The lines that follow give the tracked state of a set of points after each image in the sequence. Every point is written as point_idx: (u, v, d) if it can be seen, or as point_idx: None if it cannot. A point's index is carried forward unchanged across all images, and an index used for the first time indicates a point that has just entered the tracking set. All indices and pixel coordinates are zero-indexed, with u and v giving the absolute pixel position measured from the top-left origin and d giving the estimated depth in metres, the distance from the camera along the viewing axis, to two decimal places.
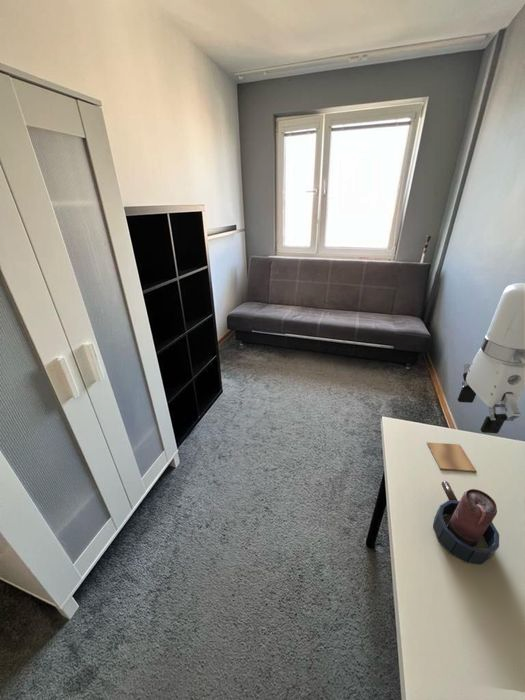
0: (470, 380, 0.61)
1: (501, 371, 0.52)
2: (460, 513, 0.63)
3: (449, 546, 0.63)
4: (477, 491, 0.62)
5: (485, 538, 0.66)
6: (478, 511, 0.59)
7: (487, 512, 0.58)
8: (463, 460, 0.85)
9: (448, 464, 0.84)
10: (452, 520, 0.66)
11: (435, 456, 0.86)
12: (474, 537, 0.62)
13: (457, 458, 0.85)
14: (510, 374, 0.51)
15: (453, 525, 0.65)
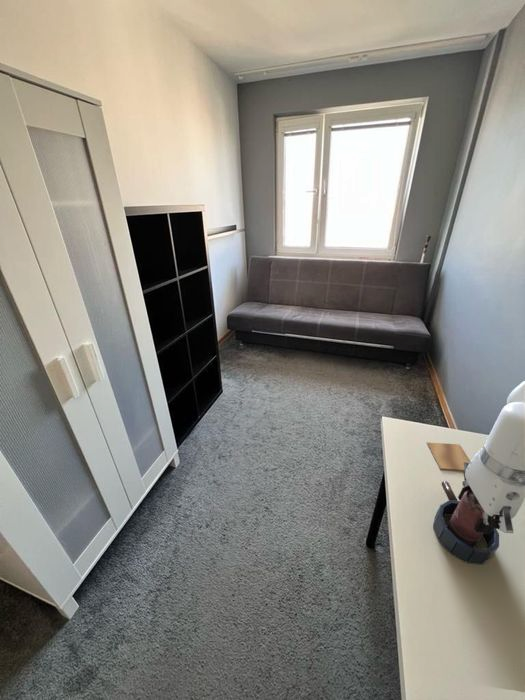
0: (469, 479, 0.61)
1: (500, 486, 0.52)
2: (460, 513, 0.63)
3: (449, 546, 0.63)
4: None
5: (485, 538, 0.66)
6: (478, 511, 0.59)
7: None
8: (463, 460, 0.85)
9: (448, 464, 0.84)
10: (452, 520, 0.66)
11: (435, 456, 0.86)
12: (473, 537, 0.62)
13: (457, 458, 0.85)
14: (508, 491, 0.51)
15: (453, 525, 0.65)
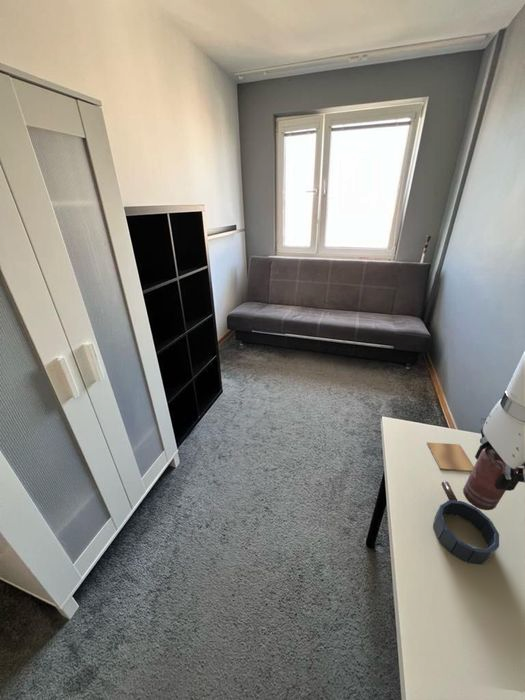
0: (487, 433, 0.57)
1: (524, 433, 0.48)
2: (478, 472, 0.58)
3: (449, 546, 0.63)
4: None
5: (485, 538, 0.66)
6: (499, 467, 0.54)
7: None
8: (463, 460, 0.85)
9: (448, 464, 0.84)
10: (469, 481, 0.61)
11: (435, 456, 0.86)
12: (493, 497, 0.58)
13: (457, 458, 0.85)
14: None
15: (470, 486, 0.61)
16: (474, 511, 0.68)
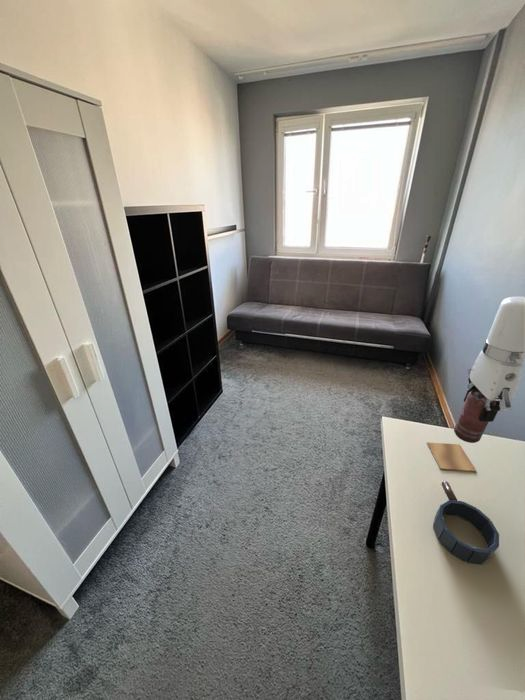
0: (473, 378, 0.71)
1: (499, 370, 0.62)
2: (465, 410, 0.73)
3: (449, 546, 0.63)
4: None
5: (485, 538, 0.66)
6: (481, 402, 0.69)
7: None
8: (463, 460, 0.85)
9: (448, 464, 0.84)
10: (458, 420, 0.75)
11: (435, 456, 0.86)
12: (477, 429, 0.72)
13: (457, 458, 0.85)
14: (507, 372, 0.61)
15: (459, 423, 0.75)
16: (474, 511, 0.68)
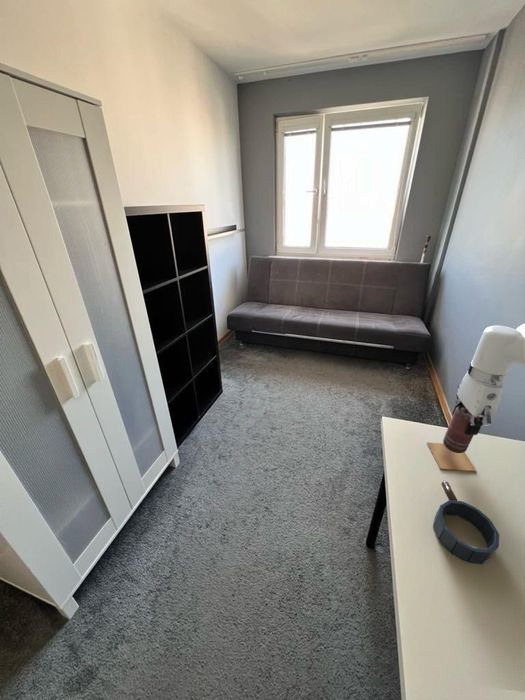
0: (460, 395, 0.78)
1: (482, 390, 0.70)
2: (453, 424, 0.80)
3: (449, 546, 0.63)
4: None
5: (485, 538, 0.66)
6: (467, 417, 0.76)
7: None
8: (463, 460, 0.85)
9: (448, 464, 0.84)
10: (447, 432, 0.83)
11: (435, 456, 0.86)
12: (464, 441, 0.79)
13: (457, 458, 0.85)
14: (488, 392, 0.69)
15: (448, 435, 0.82)
16: (474, 511, 0.68)
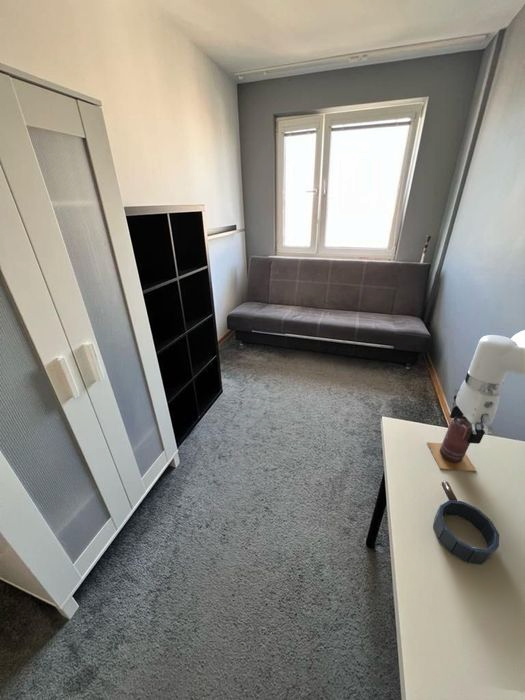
0: (458, 402, 0.80)
1: (479, 398, 0.71)
2: (449, 434, 0.82)
3: (449, 546, 0.63)
4: (462, 417, 0.82)
5: (485, 538, 0.66)
6: (462, 428, 0.78)
7: (469, 429, 0.78)
8: (463, 460, 0.85)
9: (448, 464, 0.84)
10: (443, 442, 0.85)
11: (435, 456, 0.86)
12: (459, 451, 0.81)
13: None
14: (485, 401, 0.70)
15: (444, 445, 0.85)
16: (474, 511, 0.68)
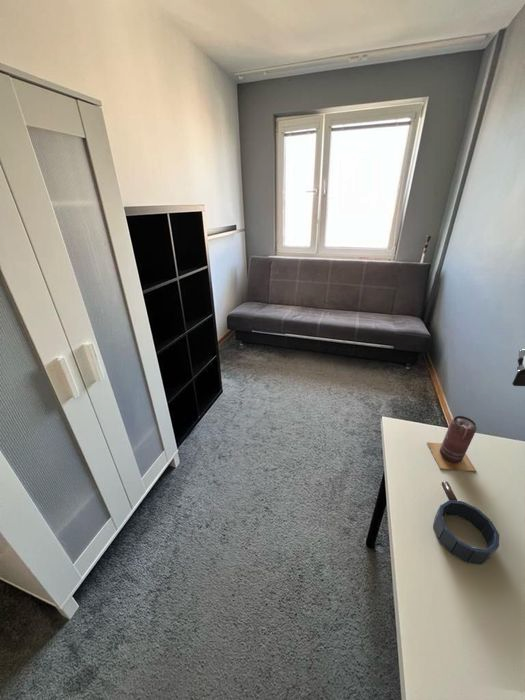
0: None
1: None
2: (449, 434, 0.82)
3: (449, 546, 0.63)
4: (462, 417, 0.82)
5: (485, 538, 0.66)
6: (462, 428, 0.78)
7: (469, 429, 0.78)
8: (463, 460, 0.85)
9: (448, 464, 0.84)
10: (443, 442, 0.85)
11: (435, 456, 0.86)
12: (459, 451, 0.81)
13: None
14: None
15: (444, 445, 0.85)
16: (474, 511, 0.68)
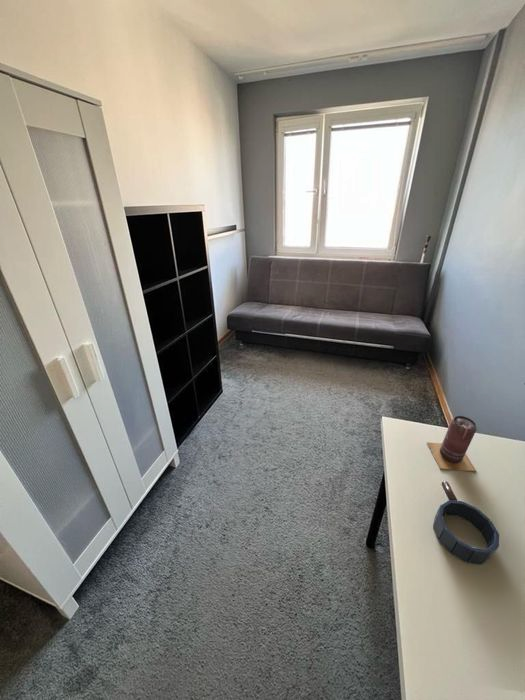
0: None
1: None
2: (449, 434, 0.82)
3: (449, 546, 0.63)
4: (462, 417, 0.82)
5: (485, 538, 0.66)
6: (462, 428, 0.78)
7: (469, 429, 0.78)
8: (463, 460, 0.85)
9: (448, 464, 0.84)
10: (443, 442, 0.85)
11: (435, 456, 0.86)
12: (459, 451, 0.81)
13: None
14: None
15: (444, 445, 0.85)
16: (474, 511, 0.68)
